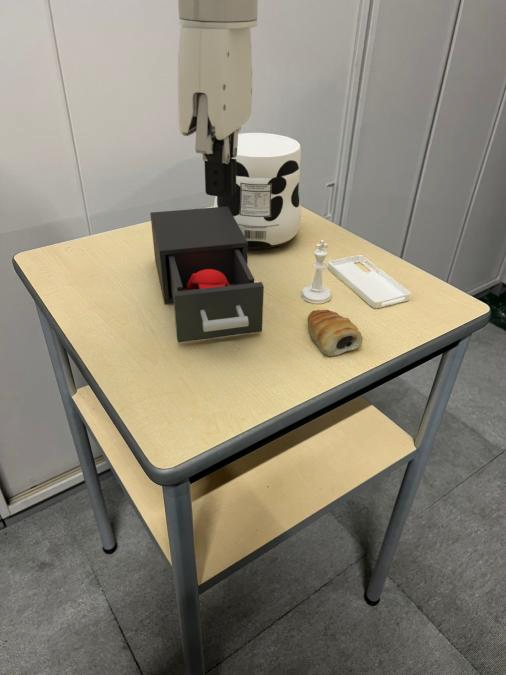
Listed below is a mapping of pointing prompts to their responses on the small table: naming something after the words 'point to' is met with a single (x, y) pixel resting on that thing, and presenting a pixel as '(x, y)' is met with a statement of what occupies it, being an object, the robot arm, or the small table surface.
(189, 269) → the drawer
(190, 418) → the small table surface
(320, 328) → the pastry
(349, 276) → the phone case
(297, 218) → the milk container
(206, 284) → the red rounded lump
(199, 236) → the cabinet
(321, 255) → the chess piece
